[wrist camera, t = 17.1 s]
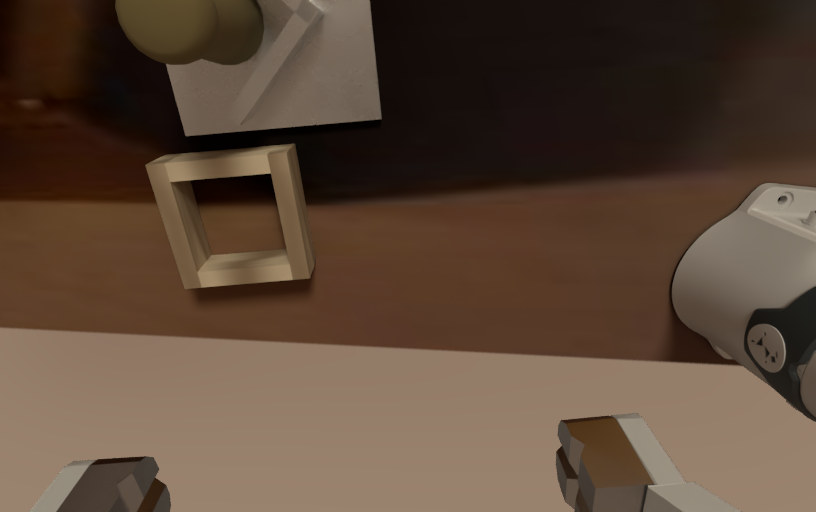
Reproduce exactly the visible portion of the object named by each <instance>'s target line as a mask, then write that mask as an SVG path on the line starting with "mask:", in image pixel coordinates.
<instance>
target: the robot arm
mask: <svg viewBox="0 0 816 512" xmlns="http://www.w3.org/2000/svg"><path fill="white" fill-rule="evenodd" d="M780 197H781V199H780V200H779V201H778V199H779V198H780ZM672 301H673V306H674V309H675V311H676V313H677V315H678V317H679V318H680V320H681V321H682V322H683V323H684V324H685V325H686V326H687V327H688V328H690V329H691V330H693V331H695V332H697V333H698V334H700V335H702V336H703V337H705V338H706V339H708V341H709V343H710V344H711V346H712V348H713V349H714V350H715V351H716V352H717V353H718V354H719V355H721V356H722V357H723V358H725V359H734V360H736V361H737V362H738V363H740V364H741V365H742V366H744V367H745V368H747V369H748V370H749V371H751V372H752V373H753V374H754V375H756V376H757V377H759V378H760V379H761V380H763V381H764V382H765V383H767V384H768V385H770V386H771V387H772V388H774V389H775V390H776V391H777V392H778V393H779V394H780V395H781V396H783V397H784V398H785V399H786V402H787V403H789V404H790V405H791V406H792V407H793V408H795V409H796V410H798V411H800V412H802V413H803V414H804V415H805V416H806V417H808V418H810V419H811V420H813V421H815V422H816V188H812V187H803V186H794V185H785V184H776V183H766V184H763V185H761V186H759V187H758V188H756V189H755V190H754V191H753V192H752V193H751V194H750V195H749V196H748V197H747V198H746V199H745V201H744V202H743V203H742V204H741V205H740V207H739V208H738V209H737V210H736V211H734V212H733V213H732V214H730V215H729V216H728V217H726V218H724V219H723V220H721V221H720V222H718V223H716V224H715V225H714V226H712V227H711V228H709V229H708V230H707V231H706V232H704V233H703V234H702V235H701V236H700V237H699V238H698V239H697V240H696V241H695V242H694V243H693V244H692V245H691V247H690V248H689V249H688V251H687V252H686V253H685V255H684V257H683V258H682V260H681V262H680V264H679V266H678V268H677V270H676V273H675V276H674V280H673V285H672ZM558 437H559V440H560V442H561V444H562V446H561V447H560V448H559V449H558V450H557V452H556V468H557V475H558V481H559V484H560V488H561V491H562V494H563V497H564V500H565V502H566V503H567V504H569V505H570V506H571V507H572V508H573V509H575V512H742V511H740V510H738V509H737V508H735V507H734V506H732V505H731V504H729V503H727V502H726V501H724V500H723V499H721V498H720V497H718V496H716V495H715V494H713V493H711V492H710V491H708V490H707V489H705V488H704V487H702V486H701V485H699V484H697V483H696V482H686V481H685V479H684V478H683V476H682V475H681V473H680V472H679V471H678V469H677V468H676V466H675V465H674V463H673V462H672V460H671V459H670V457H669V456H668V454H667V453H666V451H665V450H664V449H663V447H662V446H661V444H660V443H659V441H658V440H657V438H656V437H655V435H654V434H653V432H652V431H651V429H650V428H649V426H648V425H647V424H646V422H645V421H644V419H643V418H642V416H640V415H639V414H637V413H632V414H622V415H611V416H601V417H590V418H580V419H570V420H561V421H560V423H559V426H558ZM158 471H159V468H158V466H157V464H156V462H155V460H154V458H153V457H129V458H112V459H98V460H87V461H73V462H72V463H70V464H68V465H67V466H65V467H64V468H63V469H62V470H61V472H60V473H59V474H58V476H57V477H56V478H55V479H54V481H53V482H52V483H51V485H50V486H49V487H48V488H47V490H46V491H45V492H44V493H43V495H42V496H41V497H40V499H39V500H38V501H37V503H36V504H35V505H34V506H33V508H32V509H31V510H30V512H170V507H171V502H170V494H169V491H168V489H167V486H166V485H165V484H164V483H162V482H161V481H159V480H158V479H156V478H155V477H156V475H157V473H158Z"/></svg>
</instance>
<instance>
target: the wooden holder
mask: <svg viewBox="0 0 816 512" xmlns="http://www.w3.org/2000/svg"><path fill="white" fill-rule="evenodd" d="M145 166H146V169H147V172H148V175H149V178H150V182H151V185H152V188H153V191H154V194H155V197H156V200H157V204H158V207H159V210H160V213H161V216H162V219H163V222H164V225H165V229H166V232H167V235H168V238H169V241H170V244H171V247H172V251H173V254H174V257H175V260H176V263H177V266H178V269H179V273H180V276H181V279H182V282H183V285H184V288H185V289H192V288H203V287H215V286H227V285H238V284H250V283H262V282H273V281H285V280H296V279H308V278H310V277H311V274H312V271H313V268H314V265H315V262H316V259H315V253H314V248H313V242H312V237H311V231H310V226H309V220H308V214H307V209H306V203H305V198H304V192H303V187H302V181H301V175H300V170H299V164H298V159H297V153H296V148H295V144H286V145H275V146H263V147H252V148H240V149H229V150H217V151H206V152H194V153H183V154H171V155H164V156H162V157H160V158H158V159H156V160H154V161H152V162H150V163H148V164H146V165H145ZM269 173H271V176H272V181H273V186H274V190H275V195H276V200H277V205H278V210H279V215H280V220H281V224H282V229H283V234H284V239H285V244H286V249H281V250H269V251H257V252H246V253H234V254H222V255H211V252H210V248H209V245H208V241H207V238H206V234H205V231H204V227H203V224H202V220H201V216H200V213H199V209H198V206H197V202H196V199H195V195H194V192H193V188H192V185H191V181H190V180H200V179H211V178H223V177H235V176H246V175H258V174H269Z"/></svg>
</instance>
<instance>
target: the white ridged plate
mask: <svg viewBox="0 0 816 512" xmlns="http://www.w3.org/2000/svg"><path fill="white" fill-rule="evenodd" d="M257 2H258V4H259V7H260V9H261V12H262V14H263V22H264V33H263V39H262V43H261V45H260V47H259V48H258V50H257V52H256V53H255V54H254V55H253V56H252V57H251V58H250V59H249V60H248V61H245V62H243V63H240V64H237V65H221V64H218V63H214V62H210V61H207V60H203V59H200V60H198V61H195V62H192V63H190V64H186V65H169V64H166V66H167V70H168V73H169V77H170V81H171V84H172V88H173V91H174V95H175V99H176V102H177V106H178V110H179V113H180V117H181V121H182V124H183V128H184V132H185V135H186V136H194V135H206V134H217V133H229V132H240V131H252V130H263V129H275V128H286V127H298V126H309V125H321V124H332V123H344V122H355V121H367V120H378V119H381V118H382V117H381V107H380V97H379V87H378V77H377V67H376V57H375V47H374V37H373V27H372V17H371V7H370V0H257Z"/></svg>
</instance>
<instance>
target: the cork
mask: <svg viewBox="0 0 816 512" xmlns="http://www.w3.org/2000/svg"><path fill="white" fill-rule="evenodd" d="M116 11H117V15H118V19H119V23H120V25H121V27H122V29H123V31H124V32H125V34H126V36H127V38H128V39H129V40H130V41H131V42H132V43H133V44H134V46H135V47H136V48H137V49H138V50H139V51H141V52H143V53H144V54H146V55H147V56H149V57H150V58H152V59H154V60H156V61H159V62H162V63H166V64H169V65H186V64H190V63H192V62H195V61H198V60H200V59H203V60H207V61H210V62H214V63H218V64H221V65H237V64H240V63H243V62H245V61H248V60H249V59H250V58H251V57H252V56H253V55H254V54H255V53H256V52H257V50H258V48H259V47H260V45H261V43H262V39H263V33H264V22H263V14H262V12H261V9H260V7H259V4H258V2H257V0H116Z"/></svg>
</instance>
